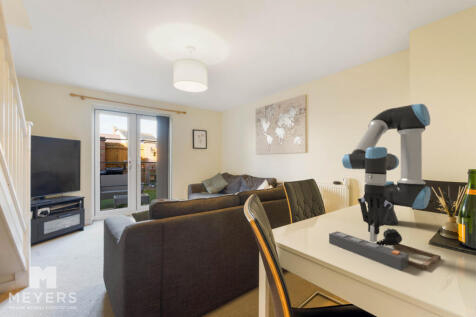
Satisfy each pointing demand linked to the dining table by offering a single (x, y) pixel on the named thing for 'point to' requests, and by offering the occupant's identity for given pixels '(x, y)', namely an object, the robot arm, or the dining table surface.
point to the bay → (427, 263)
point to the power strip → (370, 250)
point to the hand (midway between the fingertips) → (373, 240)
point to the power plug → (390, 238)
